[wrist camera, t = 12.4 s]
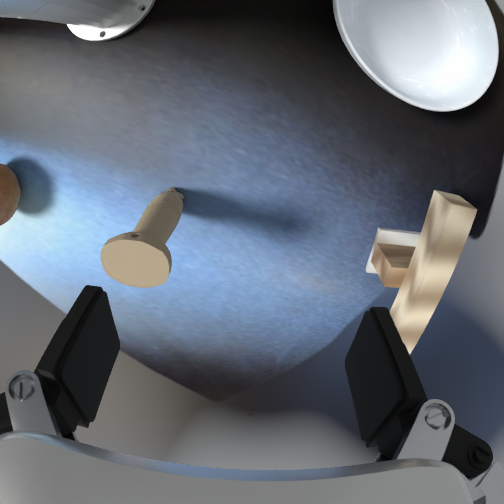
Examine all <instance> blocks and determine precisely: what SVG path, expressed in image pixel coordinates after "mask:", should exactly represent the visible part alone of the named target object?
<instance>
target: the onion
mask: <svg viewBox="0 0 504 504" xmlns="http://www.w3.org/2000/svg"><path fill="white" fill-rule="evenodd" d="M21 196H22V192H21V190H20V186H19V182H18V179H17V176H16V175H15V173H14V172H13V171H12V170H11V169H10V168H9V167H8V166H6V165H4V164H0V225H2V224H4V223H6V222H7V221H8V220H9V219H11V217H12V216H13V214H14V213H15V211H16V209H17V207H18V204H19V200H20V197H21Z"/></svg>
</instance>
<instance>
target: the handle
mask: <svg viewBox="0 0 504 504" xmlns="http://www.w3.org/2000/svg"><path fill="white" fill-rule="evenodd" d="M183 198H184V196H183V194H182V193H179V192H177V191H176V190H175V188H169V189H168V190H167V191H166V192H162V193H160V194H159V195H158V196H157V197H156V198H155V199H154V200H153V201H152V202H151V203H150V204H149V205H148V207H147V208H146V209H145V211H144V213H143V215H142V216H141V218H140V220H139V222H138V224H137V225H136V227H135V229H134V231H133V232H128V233H124V234H120V235H118V236H115V237H113V238H111V239H109V240H108V241H107V242H106V243H105V245H104V246H103V248H102V251H101V262H102V266H103V268H104V270H105V272H106V273H107V275H108V276H109V277H111V278H113V279H115V280H117V281H119V282H120V283H123V284H125V285H128V286H134V287H141V288H149V287H154V286H158V285H161V284H164V283H165V282H166V281H167V279H168V277H169V274H170V271H171V266H172V259H171V254H170V251H169V249H168V248H167V246H166V245H165V244H166V242H167V240H168V239H169V237H170V236H171V234H172V232H173V231H174V229H175V228H176V226H177V224H178V222H179V219H180V217H181V213H182V209H183Z"/></svg>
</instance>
